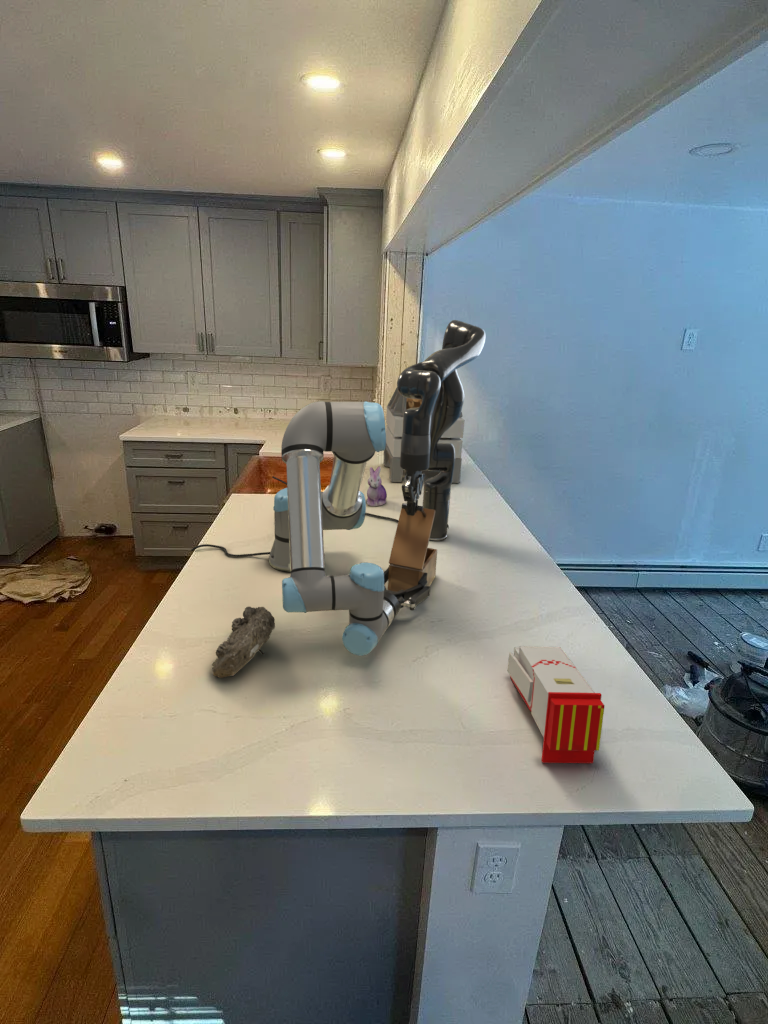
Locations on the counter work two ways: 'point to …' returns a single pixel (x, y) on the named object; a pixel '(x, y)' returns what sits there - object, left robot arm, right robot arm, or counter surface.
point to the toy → (558, 703)
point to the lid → (412, 537)
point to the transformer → (394, 436)
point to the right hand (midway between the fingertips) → (411, 513)
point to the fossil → (243, 641)
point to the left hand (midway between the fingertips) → (408, 573)
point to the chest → (412, 573)
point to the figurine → (375, 489)
